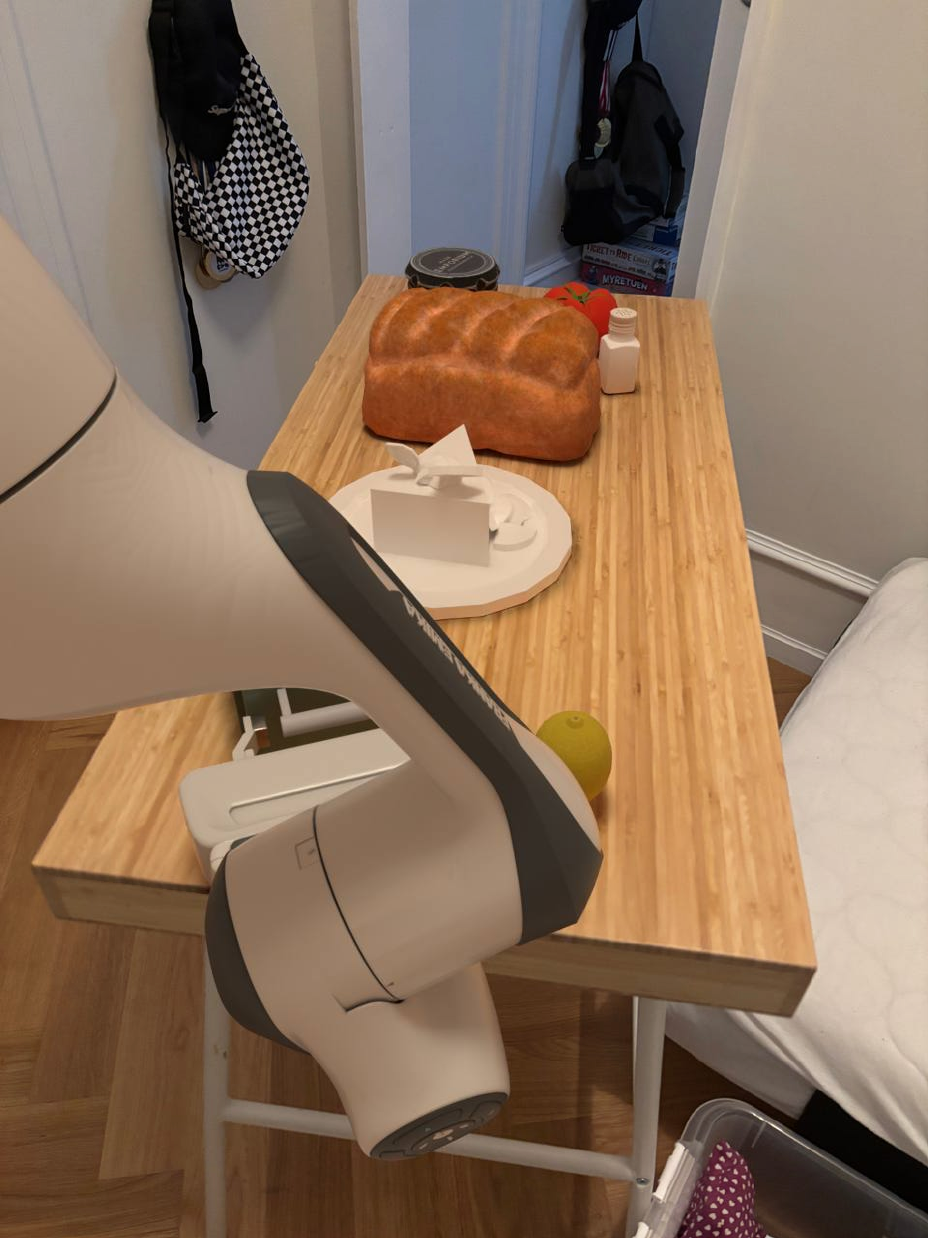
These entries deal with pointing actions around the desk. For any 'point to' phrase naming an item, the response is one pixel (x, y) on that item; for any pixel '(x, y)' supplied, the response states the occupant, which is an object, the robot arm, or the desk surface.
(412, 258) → the container
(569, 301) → the tomato
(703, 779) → the desk surface
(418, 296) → the bread
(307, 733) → the drawer
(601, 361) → the pepper shaker
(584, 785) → the lemon
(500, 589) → the dish
